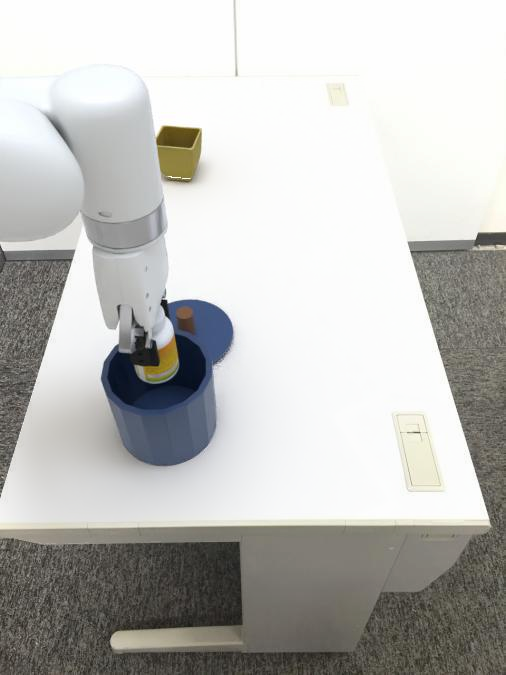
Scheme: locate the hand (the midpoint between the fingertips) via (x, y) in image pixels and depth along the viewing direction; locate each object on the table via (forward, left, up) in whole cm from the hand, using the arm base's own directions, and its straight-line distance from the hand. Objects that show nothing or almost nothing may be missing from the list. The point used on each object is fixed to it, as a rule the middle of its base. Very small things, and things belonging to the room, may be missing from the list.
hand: (151, 342), depth 62 cm
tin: (0, 0, -18) cm, 18 cm away
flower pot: (+23, +59, -18) cm, 66 cm away
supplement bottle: (0, 0, -5) cm, 5 cm away
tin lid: (+8, +14, -17) cm, 23 cm away
